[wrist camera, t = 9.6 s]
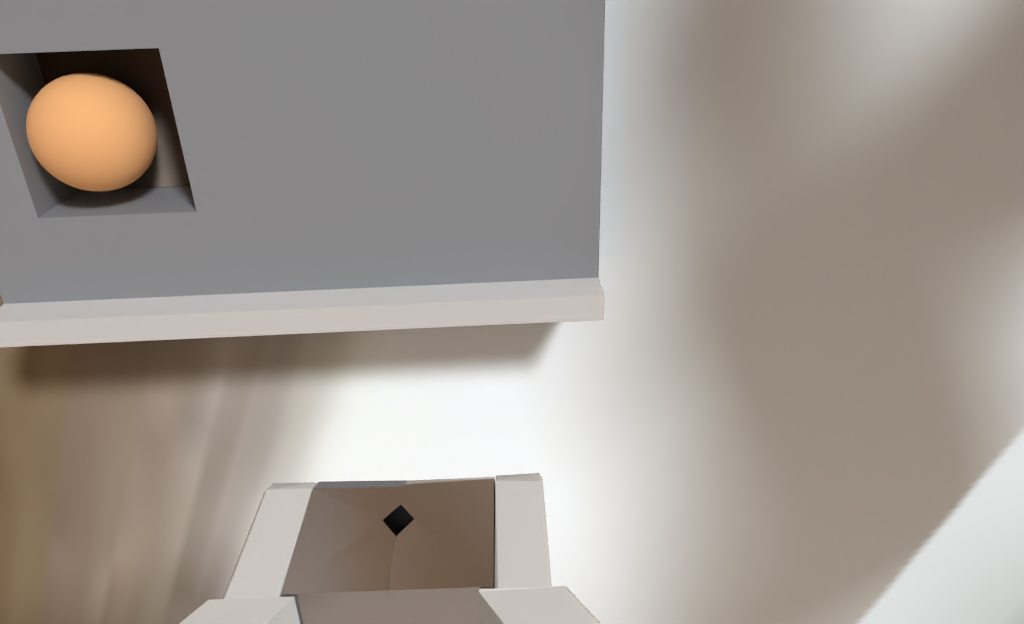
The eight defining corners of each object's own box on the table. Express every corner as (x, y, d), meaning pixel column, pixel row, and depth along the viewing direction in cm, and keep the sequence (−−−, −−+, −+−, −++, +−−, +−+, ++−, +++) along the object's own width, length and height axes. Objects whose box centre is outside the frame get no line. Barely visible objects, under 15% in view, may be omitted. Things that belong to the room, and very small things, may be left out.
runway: (593, -116, 26) (615, -122, 22) (587, 269, 32) (603, 319, 28) (-79, -94, 25) (-185, -96, 21) (51, 292, 31) (-10, 347, 28)
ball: (139, 60, 28) (147, 76, 25) (163, 167, 30) (173, 195, 27) (13, 70, 27) (4, 89, 23) (47, 182, 28) (43, 214, 25)
